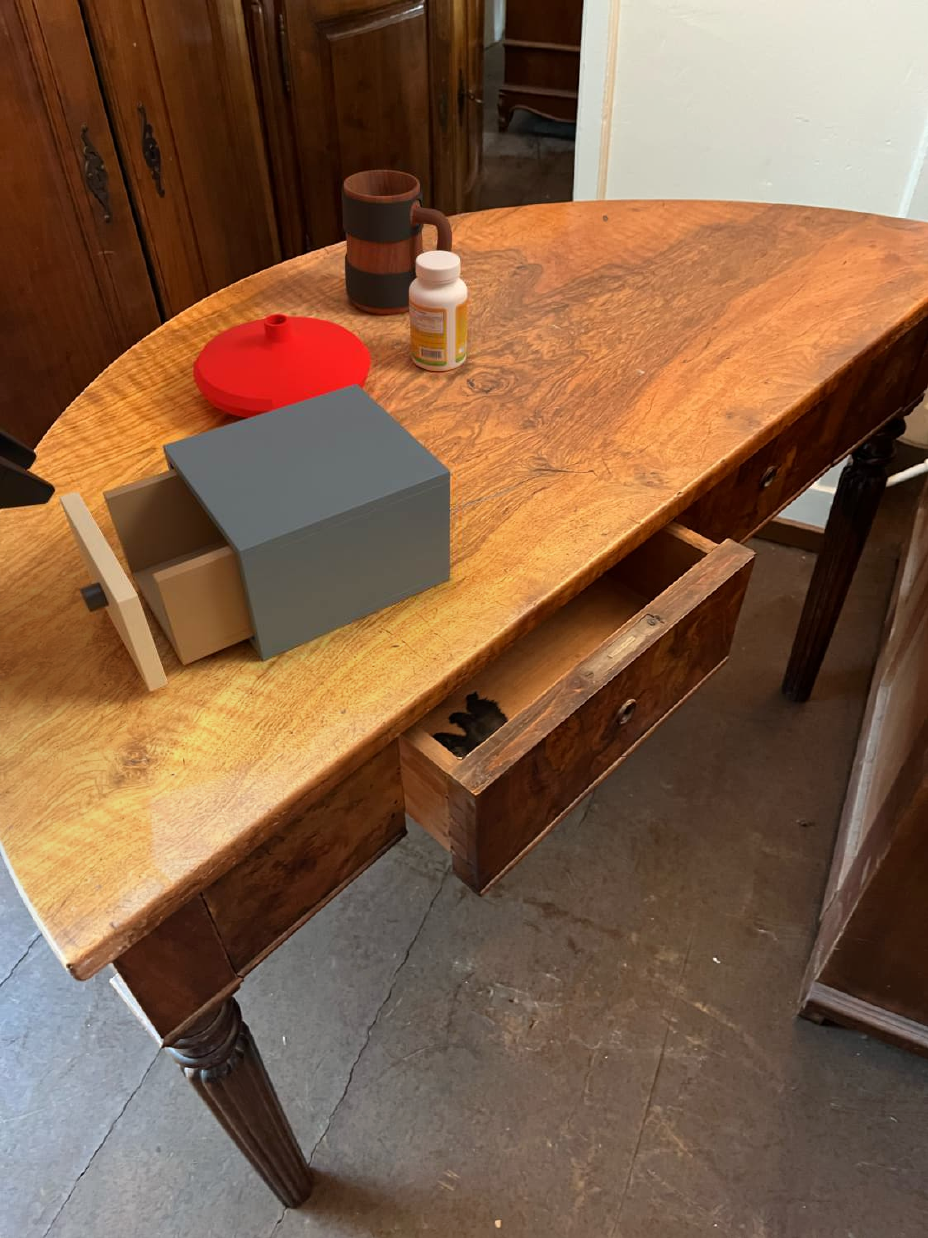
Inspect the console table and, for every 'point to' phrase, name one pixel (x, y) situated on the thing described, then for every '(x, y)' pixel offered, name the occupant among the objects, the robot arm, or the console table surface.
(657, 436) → the console table surface
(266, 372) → the red squat vase
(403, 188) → the mug
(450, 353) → the supplement bottle
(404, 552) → the cabinet
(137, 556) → the drawer
